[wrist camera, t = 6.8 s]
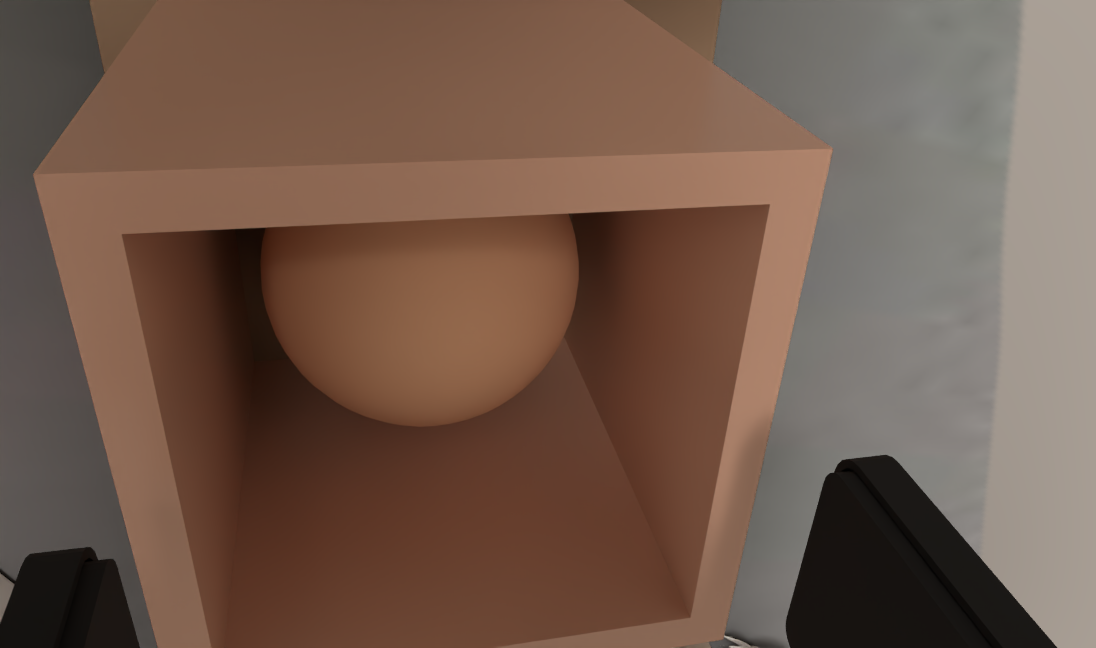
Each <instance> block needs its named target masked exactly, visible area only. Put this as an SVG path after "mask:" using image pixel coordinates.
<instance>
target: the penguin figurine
mask: <svg viewBox="0 0 1096 648" xmlns="http://www.w3.org/2000/svg"><path fill="white" fill-rule="evenodd" d="M724 637H725V638H727V639H728V640H730V641H732V642H734V643H736V644H737V645H739V646H729V647H730V648H759V647H757V646H750V645H748V644H747V643H745V642H743V641H741V640H738V639H734V638H731V637H732V636H730V637H728V636H725V635H724Z"/></svg>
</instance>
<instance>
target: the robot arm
mask: <svg viewBox="0 0 1096 648" xmlns="http://www.w3.org/2000/svg"><path fill="white" fill-rule="evenodd" d="M786 633H787V639H788V642H789V645H790V648H1057V647H1056V646H1055V645H1054V643H1053V642H1052V641H1051V640H1050V639H1049V638H1048V636H1047V635H1046V634H1045V633H1044V632H1043V631H1042V630H1041V628H1040V627H1039V626H1038V625H1037V624H1036V622H1035V621H1034V620H1033V619H1032V618H1031V617H1030V615H1029V614H1028V613H1027V612H1026V611H1025V610H1024V608H1023V607H1022V606H1021V605H1020V604H1019V603H1018V601H1017V600H1016V599H1015V598H1014V597H1013V596H1012V594H1011V593H1010V592H1009V591H1008V590H1007V589H1006V588H1005V586H1004V585H1003V584H1002V583H1001V582H1000V580H999V579H998V578H997V577H996V576H995V575H994V574H993V572H992V571H991V570H990V569H989V568H988V566H987V565H986V564H985V563H984V562H983V561H982V559H981V558H980V557H979V556H978V555H977V554H976V552H975V551H974V550H973V549H972V548H971V547H970V545H969V544H968V543H967V542H966V541H965V540H964V538H963V537H962V536H961V535H960V534H959V533H958V531H957V530H956V529H955V528H954V527H953V526H952V524H951V523H950V522H949V521H948V520H947V519H946V517H945V516H944V515H943V514H942V513H941V512H940V510H939V509H938V508H937V507H936V506H935V505H934V503H933V502H932V501H931V500H930V499H929V498H928V496H927V495H926V494H925V493H924V492H923V491H922V489H921V488H920V487H919V486H918V485H917V484H916V482H915V481H914V480H913V479H912V478H911V477H910V475H909V474H908V473H907V472H906V471H905V470H904V469H903V467H902V466H901V465H900V464H899V463H898V462H897V461H896V460H895V459H894V458H893V457H890V456H888V455H880V456H872V457H863V458H854V459H846V460H842V461H841V462H840V463H839V464H838V465H837V467H836V469H835V472H834V473H830V474H828V475H827V476H826V478H825V481H824V484H823V487H822V491H821V495H820V498H819V502H818V505H817V509H816V513H815V516H814V520H813V524H812V527H811V531H810V535H809V538H808V542H807V546H806V549H805V553H804V557H803V560H802V564H801V568H800V571H799V575H798V579H797V582H796V586H795V590H794V593H793V597H792V600H791V604H790V608H789V611H788V615H787V619H786ZM0 648H140V647H139V643H138V640H137V636H136V632H135V629H134V625H133V622H132V618H131V615H130V611H129V607H128V604H127V600H126V597H125V593H124V590H123V586H122V582H121V579H120V575H119V572H118V568H117V565H116V563H115V561H114V560H113V559H105V560H98V559H97V556H96V554H95V551H94V550H93V549H92V548H91V547H85V548H77V549H68V550H60V551H51V552H42V553H34V554H30V555H28V556H27V557H26V558H25V560H24V562H23V564H22V566H21V569H20V571H19V574H18V577H17V579H16V582H15V585H14V587H13V590H12V593H11V595H10V598H9V601H8V604H7V606H6V609H5V612H4V614H3V617H2V620H1V622H0Z"/></svg>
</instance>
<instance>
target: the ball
mask: <svg viewBox="0 0 1096 648" xmlns="http://www.w3.org/2000/svg"><path fill="white" fill-rule="evenodd" d="M260 266H261V285H262V293H263V298H264V303H265V307H266V311H267V314H268V316H269V319H270V322H271V324H272V327H273V330H274V332H275V335H276V337H277V339H278V340H279V342H280V344H281V346H282V348H283V349H284V351H285V353H286V354H287V355H288V357H289V358H290V360H291V361H292V362H293V363H294V365H295V366H296V367H297V369H298V370H299V371H300V373H301V374H302V375H303V376H304V377H305V378H306V379H307V380H308V381H309V382H310V383H311V384H312V385H313V386H315V387H316V388H317V389H319V390H320V391H321V392H323V393H324V394H325V395H327V396H328V397H329V398H331V399H332V400H333V401H335V402H336V403H338V404H340V405H342V406H343V407H345V408H347V409H349V410H351V411H353V412H355V413H358V414H360V415H363V416H365V417H368V418H372V419H375V420H379V421H382V422H386V423H390V424H396V425H402V426H416V427H425V426H440V425H446V424H453V423H457V422H461V421H465V420H468V419H471V418H474V417H477V416H479V415H482V414H485V413H487V412H489V411H491V410H493V409H495V408H497V407H499V406H500V405H502V404H504V403H505V402H507V401H508V400H510V399H511V398H513V397H514V396H515V395H517V394H518V393H519V392H520V391H522V390H523V389H524V388H525V387H526V386H527V385H529V384H530V383H531V382H532V381H533V380H534V379H535V378H536V377H537V376H538V375H539V374H540V373H541V371H542V370H543V369H544V368H545V366H546V365H547V364H548V362H549V361H550V360H551V358H552V357H553V355H554V354H555V352H556V350H557V349H558V347H559V345H560V343H561V341H562V339H563V337H564V335H565V332H566V330H567V328H568V326H569V323H570V321H571V317H572V314H573V310H574V307H575V301H576V295H577V288H578V281H579V260H578V252H577V245H576V238H575V233H574V230H573V226H572V223H571V219H570V216H569V214H546V215H524V216H503V217H481V218H460V219H438V220H417V221H395V222H373V223H352V224H330V225H309V226H287V227H266V229H265V233H264V237H263V241H262V249H261V259H260Z"/></svg>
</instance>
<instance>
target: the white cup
mask: <svg viewBox="0 0 1096 648" xmlns="http://www.w3.org/2000/svg"><path fill="white" fill-rule="evenodd" d="M14 585H15V584H13V583H12V582H11V581H10V580H8V579H7V578H6V577H5V576H3V575H2V574H1V573H0V622H1V620H2V617H3V614H4V612H5V609H6V606H7V604H8V601H9V598H10V595H11V593H12V590H13V587H14Z"/></svg>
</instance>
